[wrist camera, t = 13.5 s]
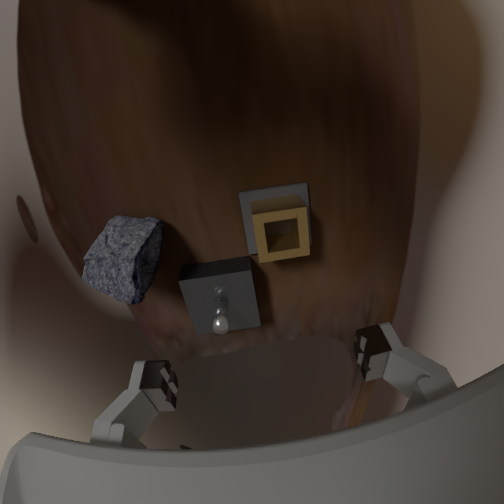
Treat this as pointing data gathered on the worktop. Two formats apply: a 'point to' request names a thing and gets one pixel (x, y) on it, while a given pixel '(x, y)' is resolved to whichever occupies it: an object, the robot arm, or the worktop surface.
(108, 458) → the robot arm
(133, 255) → the stone
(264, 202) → the ring
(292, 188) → the mat
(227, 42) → the worktop surface
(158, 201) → the worktop surface
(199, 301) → the post block
